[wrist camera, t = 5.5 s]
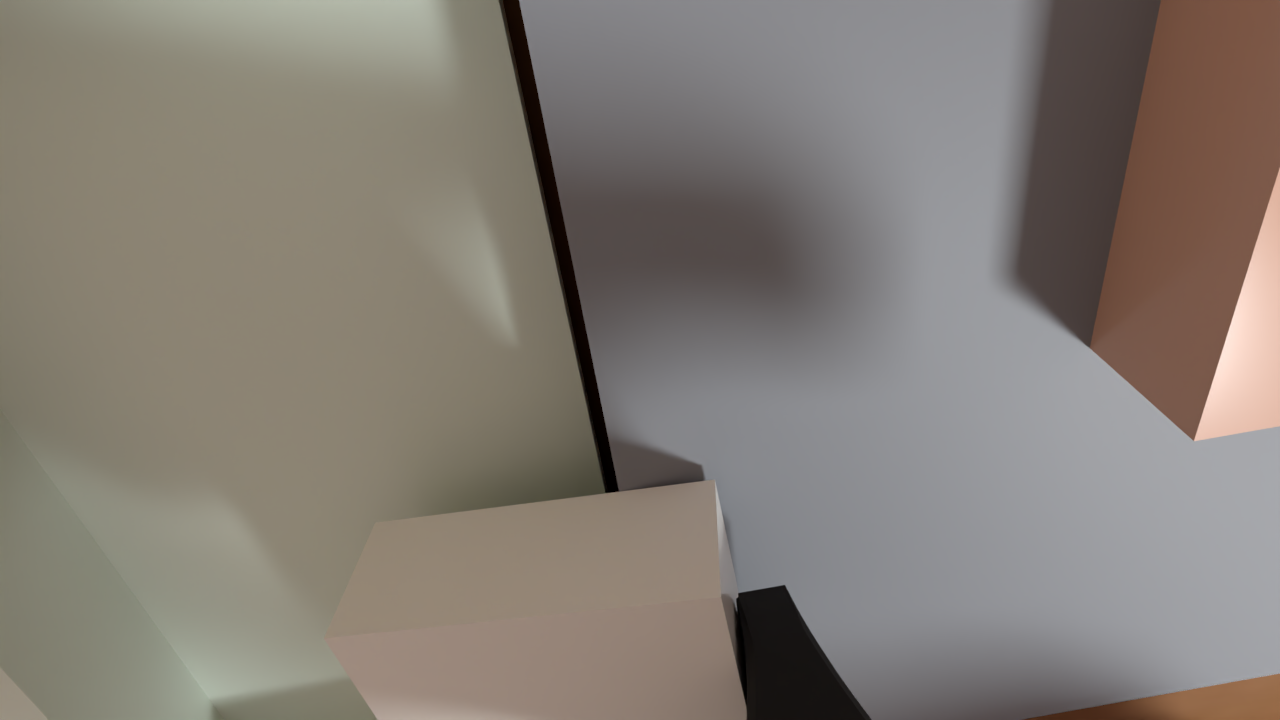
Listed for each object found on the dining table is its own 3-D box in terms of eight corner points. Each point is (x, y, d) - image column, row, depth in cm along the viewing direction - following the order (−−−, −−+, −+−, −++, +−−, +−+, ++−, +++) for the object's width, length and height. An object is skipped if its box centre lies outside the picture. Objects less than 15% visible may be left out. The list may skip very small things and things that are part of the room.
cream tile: (760, 697, 13) (771, 818, 12) (482, 720, 14) (456, 837, 13) (714, 479, 11) (720, 597, 9) (375, 522, 12) (323, 638, 10)
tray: (647, 676, 16) (666, 824, 14) (232, 749, 16) (175, 913, 14) (460, -199, 8) (423, -226, 6) (-370, -64, 8) (-776, -31, 6)
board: (1264, 581, 17) (1345, 661, 15) (664, 688, 17) (678, 781, 15) (1662, -340, 9) (1928, -386, 7) (499, -148, 9) (488, -150, 7)
